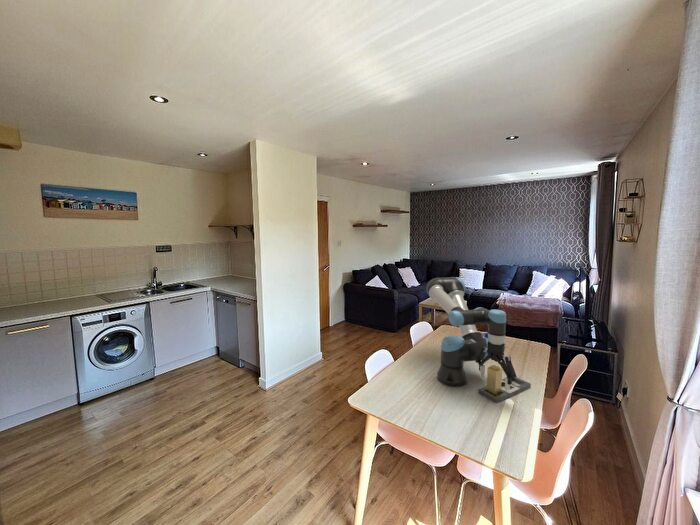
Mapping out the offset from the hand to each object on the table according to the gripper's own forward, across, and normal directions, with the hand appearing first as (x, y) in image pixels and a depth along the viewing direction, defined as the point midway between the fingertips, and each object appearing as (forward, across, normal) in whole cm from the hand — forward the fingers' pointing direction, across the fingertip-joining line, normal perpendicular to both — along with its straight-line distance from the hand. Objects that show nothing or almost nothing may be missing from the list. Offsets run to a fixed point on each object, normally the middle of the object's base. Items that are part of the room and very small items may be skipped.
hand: (494, 383), depth 143 cm
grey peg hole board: (+6, 0, -9) cm, 11 cm away
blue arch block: (+6, +42, -57) cm, 71 cm away
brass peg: (+6, 0, 0) cm, 6 cm away
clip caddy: (+6, +42, -57) cm, 71 cm away
